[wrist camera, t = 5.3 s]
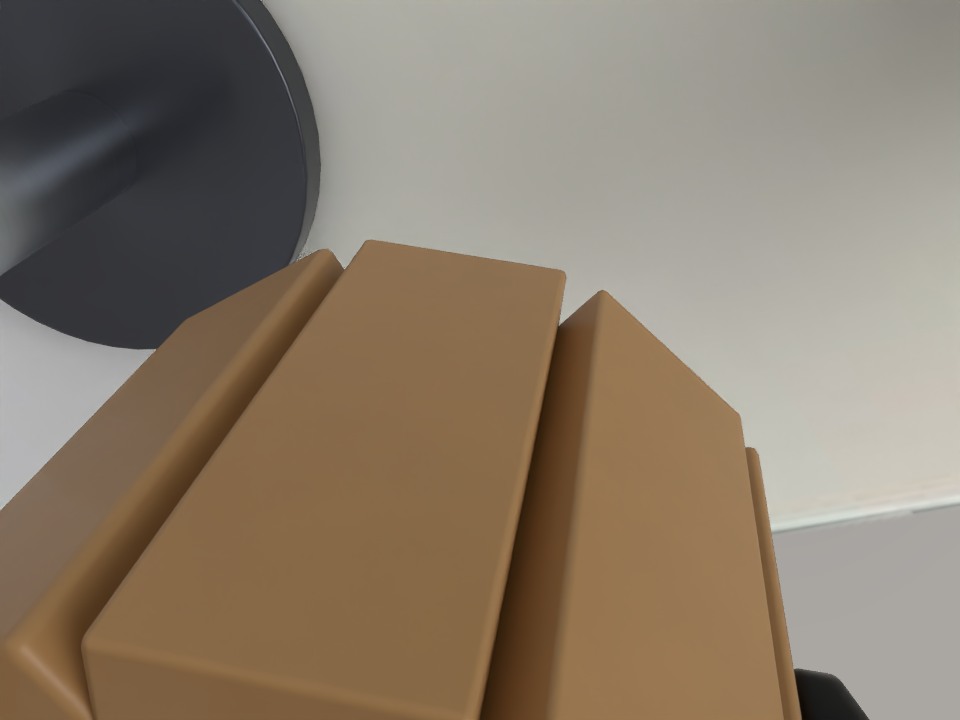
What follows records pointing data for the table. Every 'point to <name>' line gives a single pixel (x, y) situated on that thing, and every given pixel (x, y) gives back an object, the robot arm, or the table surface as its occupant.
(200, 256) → the stand
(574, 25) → the table surface
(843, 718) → the robot arm
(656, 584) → the wooden segmented ring
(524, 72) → the table surface
